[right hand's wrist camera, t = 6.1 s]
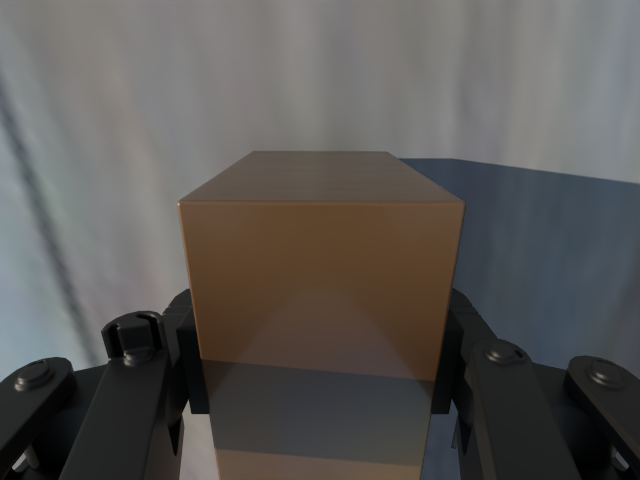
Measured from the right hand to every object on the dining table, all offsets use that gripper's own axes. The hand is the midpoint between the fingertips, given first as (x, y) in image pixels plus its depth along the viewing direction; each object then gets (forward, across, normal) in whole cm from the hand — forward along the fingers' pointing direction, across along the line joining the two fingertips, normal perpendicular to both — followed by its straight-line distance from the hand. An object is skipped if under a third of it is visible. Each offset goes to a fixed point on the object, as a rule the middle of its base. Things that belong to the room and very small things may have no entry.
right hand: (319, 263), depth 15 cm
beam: (0, 0, -25) cm, 25 cm away
